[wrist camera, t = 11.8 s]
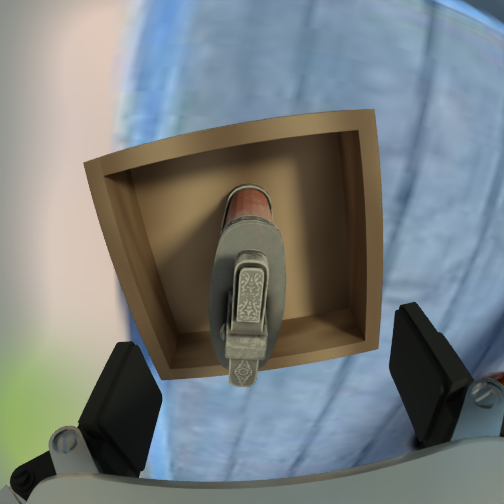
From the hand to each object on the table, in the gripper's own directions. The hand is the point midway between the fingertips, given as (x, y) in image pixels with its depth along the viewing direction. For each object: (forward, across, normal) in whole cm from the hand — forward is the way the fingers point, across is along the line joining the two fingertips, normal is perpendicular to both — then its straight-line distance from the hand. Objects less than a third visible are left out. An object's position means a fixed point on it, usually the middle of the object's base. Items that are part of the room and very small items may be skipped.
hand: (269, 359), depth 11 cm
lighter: (+11, +1, 0) cm, 11 cm away
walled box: (+12, +1, 0) cm, 12 cm away
